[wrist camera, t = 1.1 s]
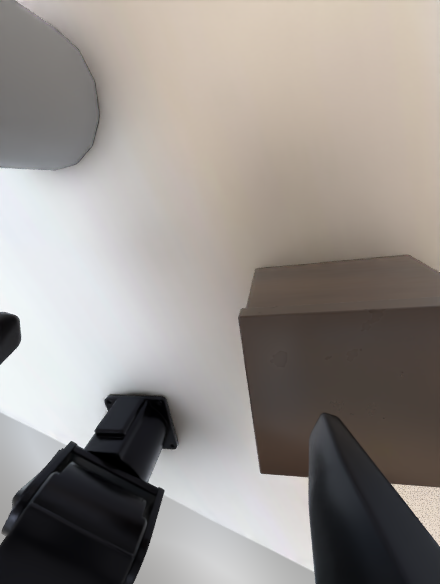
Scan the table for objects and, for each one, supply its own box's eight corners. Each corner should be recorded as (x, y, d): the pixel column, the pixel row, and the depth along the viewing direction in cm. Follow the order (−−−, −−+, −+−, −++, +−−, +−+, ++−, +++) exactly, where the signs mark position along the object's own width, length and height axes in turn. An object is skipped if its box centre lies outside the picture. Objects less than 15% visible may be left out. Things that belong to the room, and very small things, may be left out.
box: (400, 381, 21) (466, 490, 14) (265, 381, 24) (260, 474, 16) (412, 250, 18) (511, 302, 10) (251, 265, 20) (237, 317, 13)
